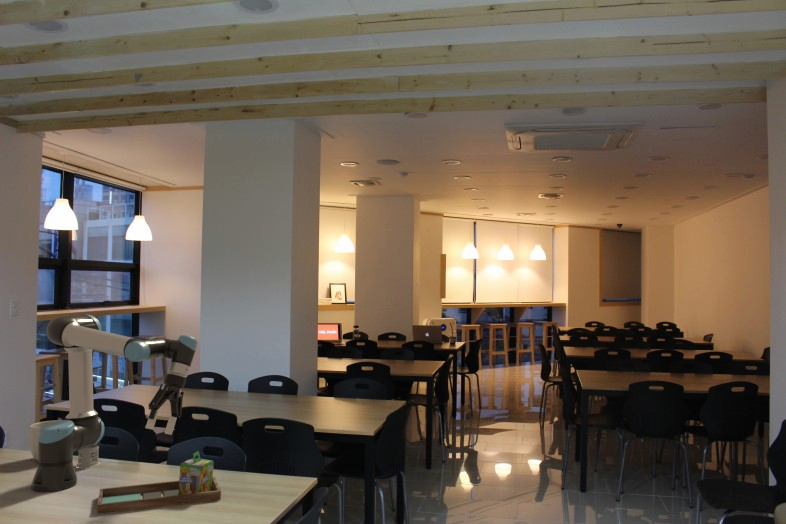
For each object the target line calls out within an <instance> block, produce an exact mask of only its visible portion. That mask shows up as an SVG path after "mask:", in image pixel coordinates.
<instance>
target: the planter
mask: <svg viewBox="0 0 786 524" xmlns="http://www.w3.org/2000/svg"><path fill="white" fill-rule="evenodd" d="M61 420H62V419H61ZM61 420H60V419H59V420H57V419H56V420H46V421H40V422H35V423H32V424H30V425H29V440H30V446H29V447H30V453H31V455H32V457H33V458H34V459H35V460H36V461H38V446H39V440H38V438H39V433H40V429H41V428H42V427H43V426H44V425H46V424H48V423H51V422H57V421H61Z"/></svg>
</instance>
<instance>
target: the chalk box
mask: <svg viewBox="0 0 786 524" xmlns="http://www.w3.org/2000/svg"><path fill="white" fill-rule="evenodd" d="M196 456H197V458H196ZM179 465H180V468H179V480H178V481H179V492H178V495H182V494H191V493H200V492H208V491H213V487H212V478H213V477H214V476H213V475H214V466H215V462H214V460H210V459H204V458H201V454H200V451H199V450H198V451H196V452H194V453H192V458H190V459H187V460H185V461H183V462H181V463H180V464H179Z"/></svg>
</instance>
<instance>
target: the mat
mask: <svg viewBox="0 0 786 524" xmlns="http://www.w3.org/2000/svg"><path fill="white" fill-rule="evenodd" d="M139 499H142V498H141V494H140V493H137V494H128V495H119V496H110V497H103V498H102V504H104V503H112V502H121V501H130V500H139Z"/></svg>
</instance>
